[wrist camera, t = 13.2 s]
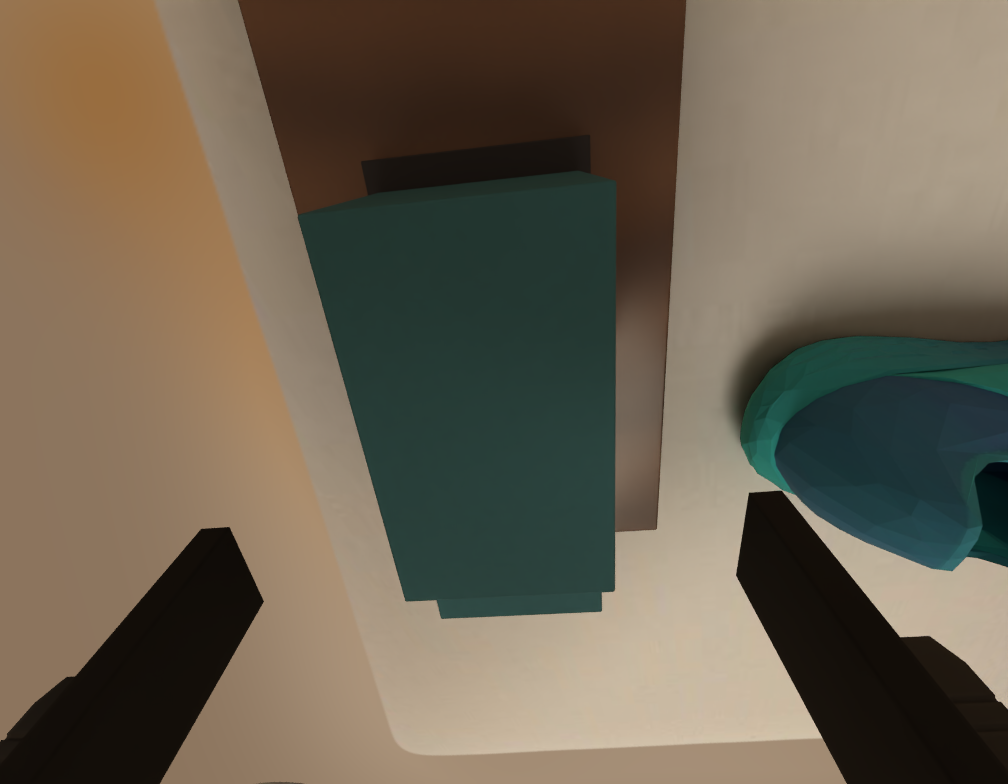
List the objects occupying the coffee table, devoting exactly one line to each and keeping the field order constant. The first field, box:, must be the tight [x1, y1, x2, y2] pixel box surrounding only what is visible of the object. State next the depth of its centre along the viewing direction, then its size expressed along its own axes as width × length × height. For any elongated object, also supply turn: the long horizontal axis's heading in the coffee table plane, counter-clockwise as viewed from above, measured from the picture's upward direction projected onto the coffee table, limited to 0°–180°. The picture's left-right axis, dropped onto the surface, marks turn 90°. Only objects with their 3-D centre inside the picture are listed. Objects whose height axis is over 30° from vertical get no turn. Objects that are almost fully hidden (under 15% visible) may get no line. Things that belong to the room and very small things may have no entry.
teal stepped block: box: [298, 135, 616, 619], centre depth 17 cm, size 18×8×8 cm, turn 6°
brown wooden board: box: [238, 0, 686, 532], centre depth 20 cm, size 28×14×3 cm, turn 6°
